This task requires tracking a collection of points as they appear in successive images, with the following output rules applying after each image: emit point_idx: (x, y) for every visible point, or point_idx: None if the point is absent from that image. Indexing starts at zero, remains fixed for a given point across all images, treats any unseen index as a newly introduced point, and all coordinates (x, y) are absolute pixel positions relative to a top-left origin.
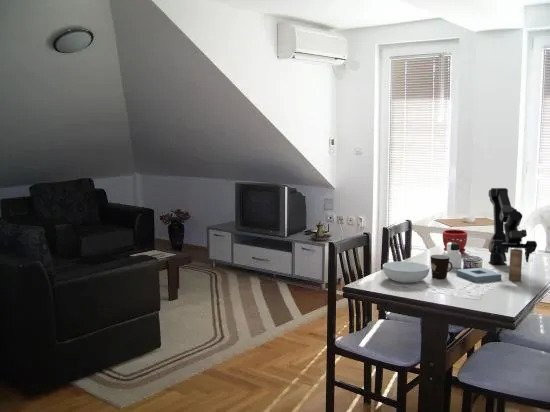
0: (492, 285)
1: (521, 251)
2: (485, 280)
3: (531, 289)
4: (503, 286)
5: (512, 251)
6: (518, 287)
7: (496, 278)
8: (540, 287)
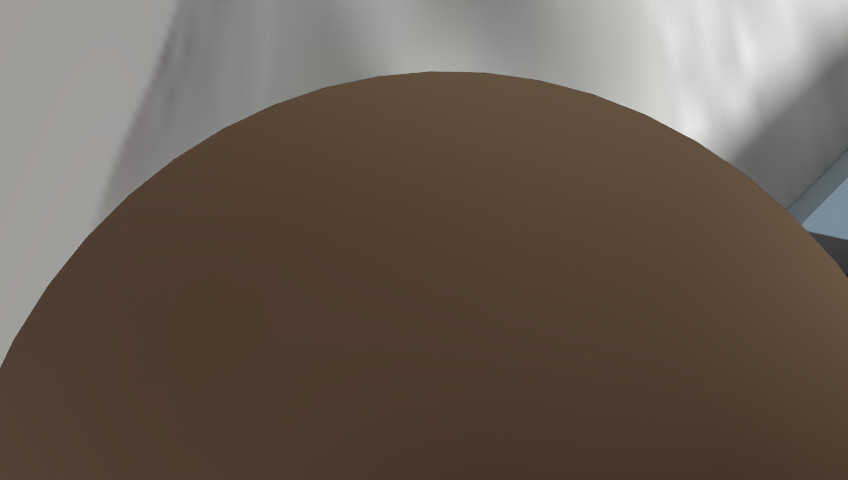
0: (686, 19)
1: (76, 268)
2: (823, 177)
3: (241, 18)
4: (557, 25)
5: (690, 167)
6: (385, 47)
7: None
8: (122, 149)
